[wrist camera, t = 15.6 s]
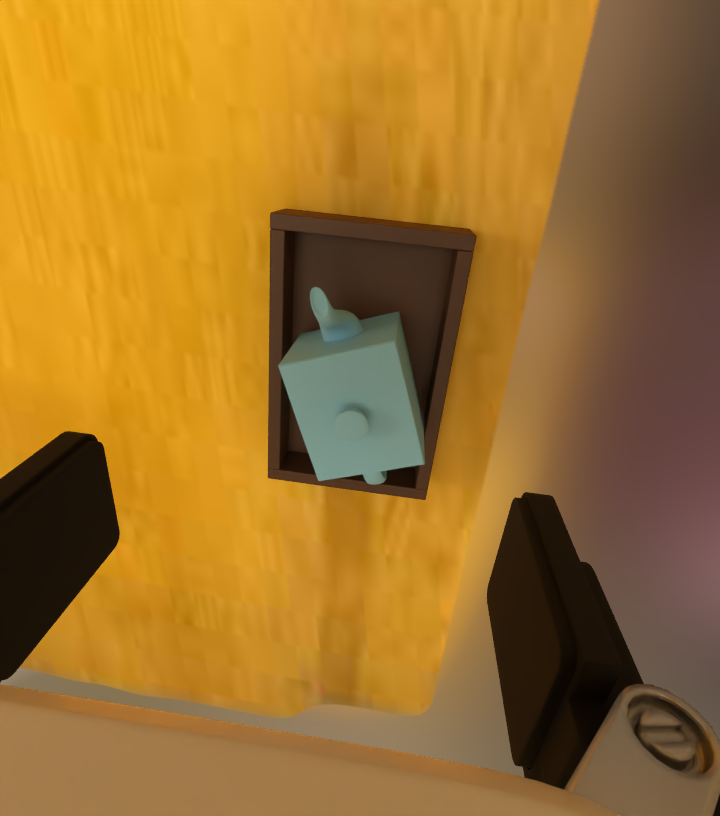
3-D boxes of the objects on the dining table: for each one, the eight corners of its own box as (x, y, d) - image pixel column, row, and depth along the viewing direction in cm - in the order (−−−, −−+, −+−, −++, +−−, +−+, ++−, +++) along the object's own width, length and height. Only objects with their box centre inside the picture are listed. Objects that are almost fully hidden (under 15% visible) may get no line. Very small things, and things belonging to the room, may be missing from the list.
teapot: (287, 275, 28) (247, 306, 22) (386, 249, 27) (377, 274, 20) (341, 446, 33) (322, 515, 26) (427, 431, 32) (431, 500, 25)
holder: (284, 208, 27) (270, 212, 25) (470, 229, 27) (476, 235, 24) (279, 454, 35) (267, 478, 32) (424, 473, 34) (425, 500, 31)
